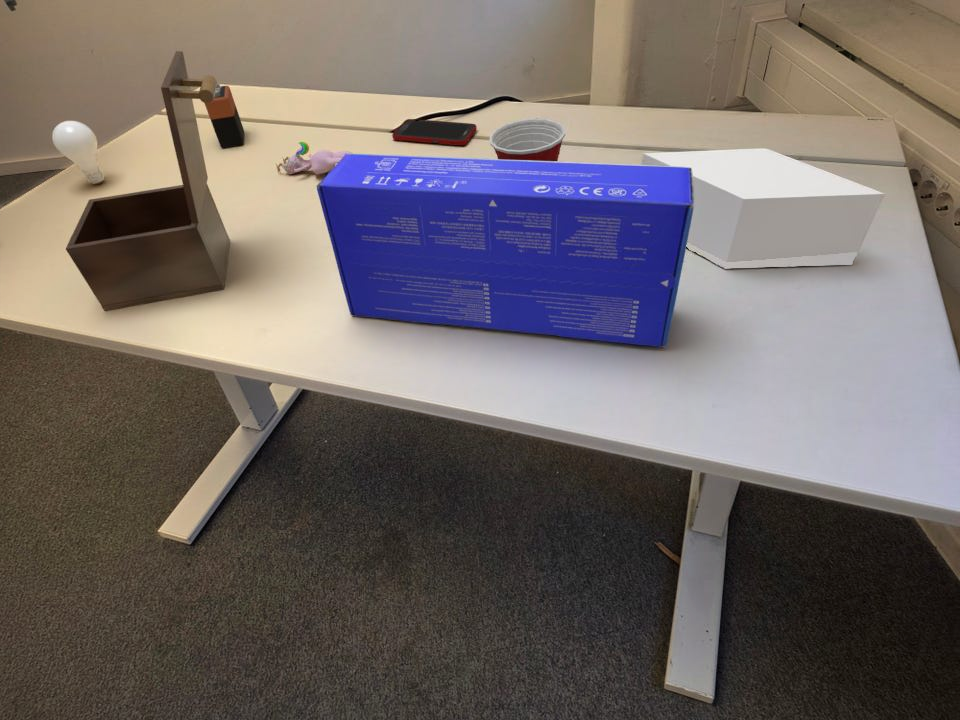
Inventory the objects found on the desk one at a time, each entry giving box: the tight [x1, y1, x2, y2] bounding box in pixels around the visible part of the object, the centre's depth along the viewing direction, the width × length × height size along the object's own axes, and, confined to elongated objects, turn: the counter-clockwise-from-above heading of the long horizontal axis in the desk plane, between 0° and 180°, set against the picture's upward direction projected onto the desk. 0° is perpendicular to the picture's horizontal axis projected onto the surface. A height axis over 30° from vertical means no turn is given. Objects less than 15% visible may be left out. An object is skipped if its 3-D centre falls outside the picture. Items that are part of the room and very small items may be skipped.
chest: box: [65, 183, 231, 312], centre depth 83 cm, size 16×13×10 cm
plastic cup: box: [489, 118, 567, 162], centre depth 89 cm, size 11×11×12 cm
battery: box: [204, 83, 245, 149], centre depth 114 cm, size 4×7×10 cm, turn 15°
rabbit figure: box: [275, 141, 354, 175], centre depth 104 cm, size 6×6×15 cm
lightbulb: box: [51, 120, 105, 185], centre depth 104 cm, size 6×6×11 cm
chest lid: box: [160, 50, 218, 224], centre depth 75 cm, size 16×13×5 cm
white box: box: [640, 147, 885, 262], centre depth 80 cm, size 14×29×10 cm, turn 62°
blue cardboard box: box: [316, 153, 694, 347], centre depth 69 cm, size 39×8×18 cm, turn 77°
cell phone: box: [391, 118, 477, 146], centre depth 114 cm, size 8×15×1 cm, turn 72°
